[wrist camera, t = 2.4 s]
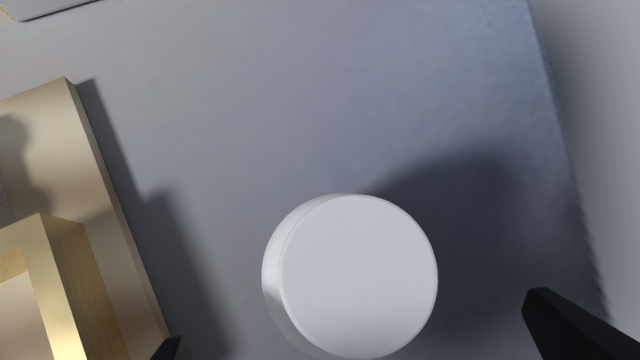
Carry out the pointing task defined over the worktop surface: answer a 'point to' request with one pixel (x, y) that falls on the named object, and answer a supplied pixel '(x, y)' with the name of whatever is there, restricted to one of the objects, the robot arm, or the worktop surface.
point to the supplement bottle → (349, 277)
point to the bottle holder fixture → (61, 283)
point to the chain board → (69, 218)
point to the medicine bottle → (35, 7)
